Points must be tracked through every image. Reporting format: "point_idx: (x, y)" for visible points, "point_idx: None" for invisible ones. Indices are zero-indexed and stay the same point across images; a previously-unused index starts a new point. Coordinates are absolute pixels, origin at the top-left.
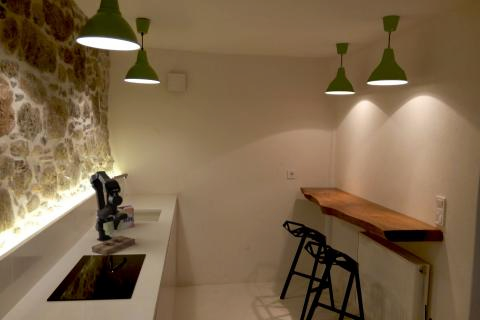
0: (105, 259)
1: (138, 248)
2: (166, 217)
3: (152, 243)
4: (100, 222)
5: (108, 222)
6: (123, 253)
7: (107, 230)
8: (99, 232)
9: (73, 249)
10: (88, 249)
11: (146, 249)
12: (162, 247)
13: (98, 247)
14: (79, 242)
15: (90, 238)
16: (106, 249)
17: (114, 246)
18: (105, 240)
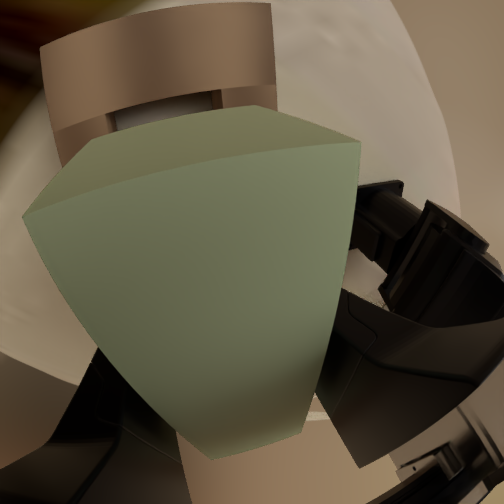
0: (12, 28)
1: (43, 283)
2: (308, 416)
3: (81, 353)
4: (467, 254)
5: (300, 336)
6: (12, 173)
7: (106, 137)
8: (418, 210)
9: (394, 10)
10: (321, 36)
11: (10, 303)
12: (10, 352)
13: (184, 19)
14: (439, 108)
15: (431, 174)
16: (59, 53)
17: (71, 144)
18: None
